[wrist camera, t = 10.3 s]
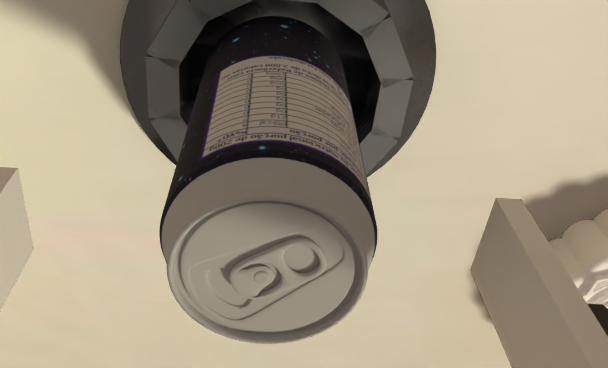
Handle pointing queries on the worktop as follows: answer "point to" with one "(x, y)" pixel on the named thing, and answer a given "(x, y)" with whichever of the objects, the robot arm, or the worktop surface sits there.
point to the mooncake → (586, 257)
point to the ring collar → (301, 6)
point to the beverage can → (270, 190)
